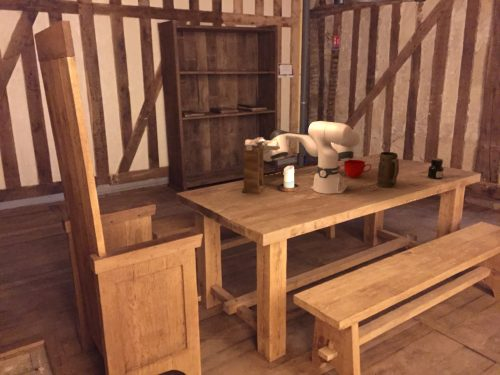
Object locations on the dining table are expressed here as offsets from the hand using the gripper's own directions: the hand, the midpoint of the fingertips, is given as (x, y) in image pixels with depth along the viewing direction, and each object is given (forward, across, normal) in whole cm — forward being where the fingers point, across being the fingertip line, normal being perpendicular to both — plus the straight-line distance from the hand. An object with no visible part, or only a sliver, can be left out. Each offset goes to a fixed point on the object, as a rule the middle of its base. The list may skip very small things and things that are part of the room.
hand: (259, 140), depth 255 cm
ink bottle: (-56, -104, +1) cm, 118 cm away
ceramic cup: (-44, -56, -6) cm, 71 cm away
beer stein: (-29, -75, -15) cm, 82 cm away
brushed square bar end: (+8, 0, -6) cm, 10 cm away
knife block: (-3, 0, -29) cm, 30 cm away
